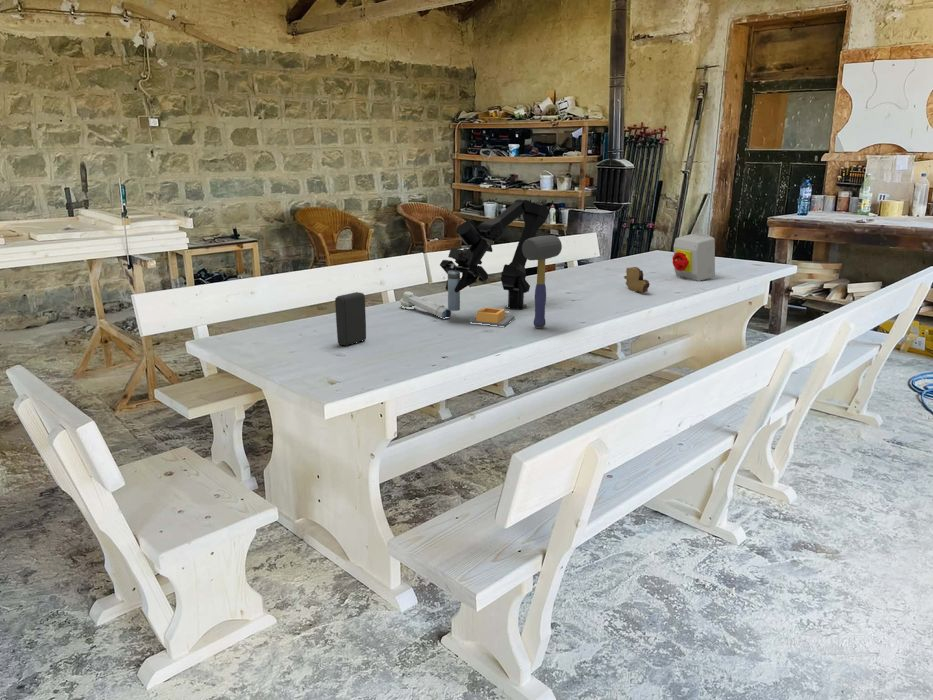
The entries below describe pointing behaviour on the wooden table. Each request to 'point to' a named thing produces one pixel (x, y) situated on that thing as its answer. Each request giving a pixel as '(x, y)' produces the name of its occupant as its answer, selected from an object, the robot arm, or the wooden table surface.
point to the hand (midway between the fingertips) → (450, 290)
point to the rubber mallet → (541, 269)
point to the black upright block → (350, 318)
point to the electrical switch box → (694, 256)
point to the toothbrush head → (424, 305)
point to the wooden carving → (636, 280)
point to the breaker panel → (493, 317)
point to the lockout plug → (452, 295)
